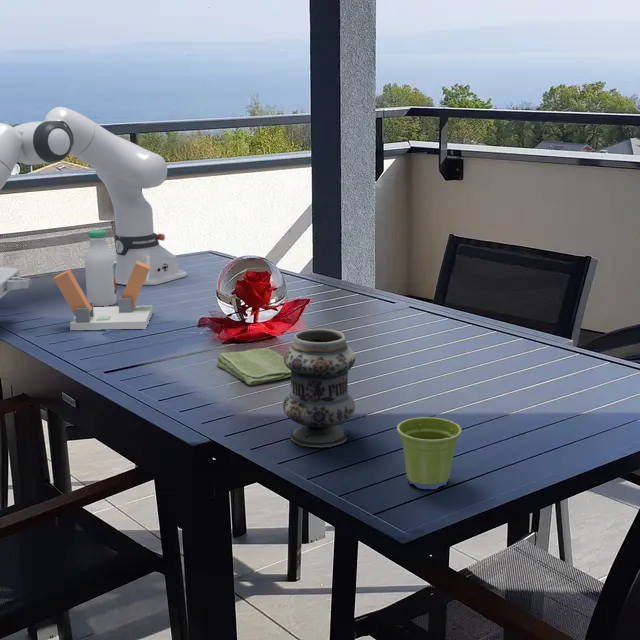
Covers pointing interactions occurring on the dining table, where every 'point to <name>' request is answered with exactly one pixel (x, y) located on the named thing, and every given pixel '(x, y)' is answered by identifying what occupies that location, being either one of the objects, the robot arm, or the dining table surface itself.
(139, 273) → the lever
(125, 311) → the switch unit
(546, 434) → the dining table surface
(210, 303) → the dining table surface
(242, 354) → the washcloth
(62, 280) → the lever
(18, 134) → the robot arm
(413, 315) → the dining table surface
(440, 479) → the plant pot
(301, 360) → the apothecary jar
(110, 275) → the milk bottle
